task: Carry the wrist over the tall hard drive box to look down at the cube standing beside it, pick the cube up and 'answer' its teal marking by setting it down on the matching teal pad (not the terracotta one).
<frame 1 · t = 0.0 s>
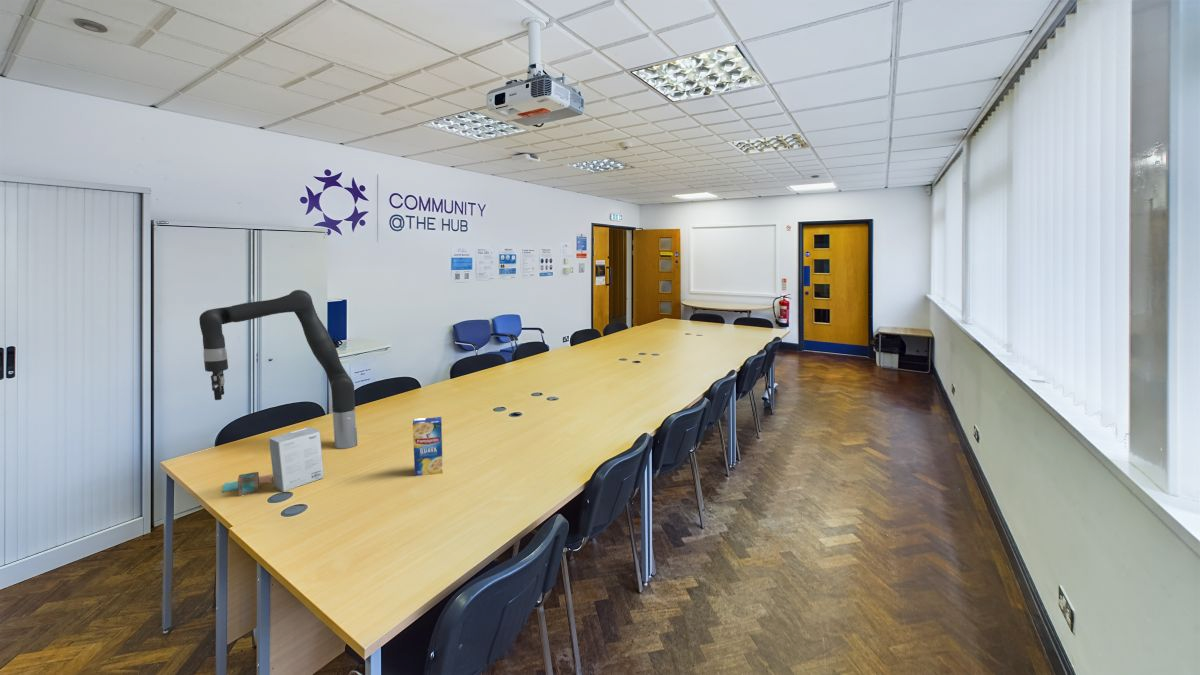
hand: (219, 397, 203), 29 cm above the table, fingers open, 8 cm apart
hard drive box: (299, 482, 193), on the table
cube: (249, 491, 185), on the table
blue food box: (429, 471, 205), on the table
pad teal: (234, 486, 188), on the table
pad terracotta: (260, 481, 193), on the table
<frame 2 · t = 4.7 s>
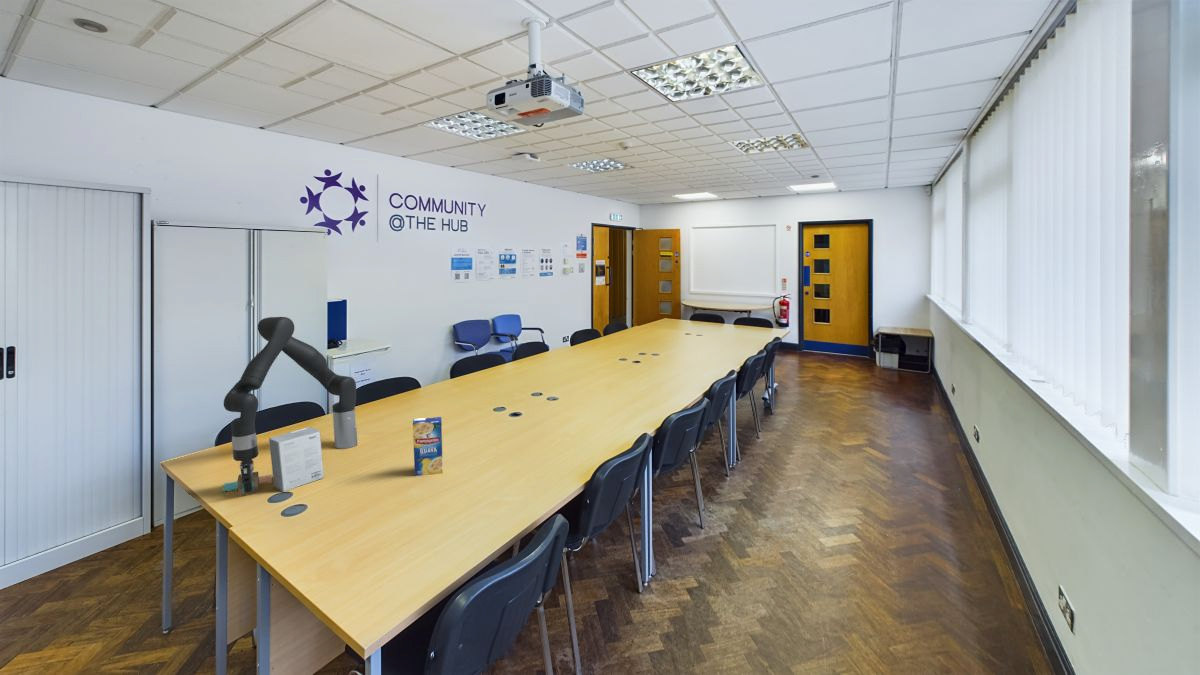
hand: (249, 488, 184), 1 cm above the table, fingers closed on cube, 6 cm apart
cube: (249, 491, 185), on the table, touching gripper
everything else where it was.
when the fingers open (3 cm above the table, at t = 10.1 s): cube stays where it is, resting on pad teal.
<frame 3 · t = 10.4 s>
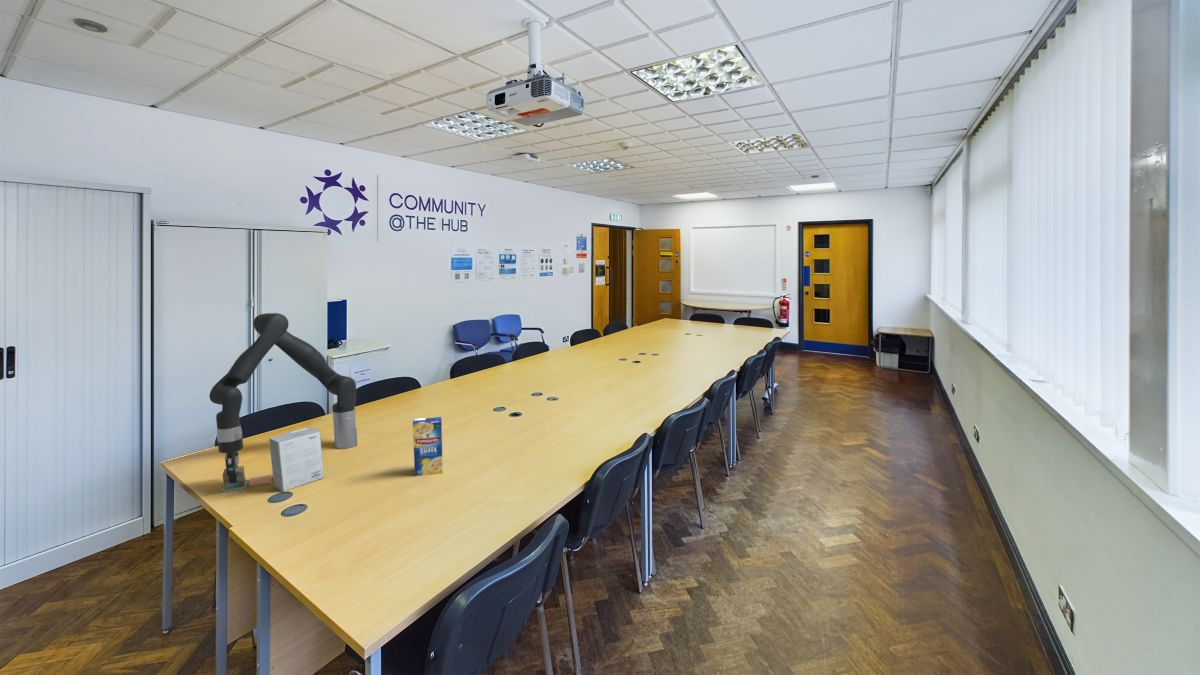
hand: (234, 478, 187), 3 cm above the table, fingers open, 8 cm apart
cube: (234, 485, 188), point 1 cm above the table, touching pad teal
everything else where it was.
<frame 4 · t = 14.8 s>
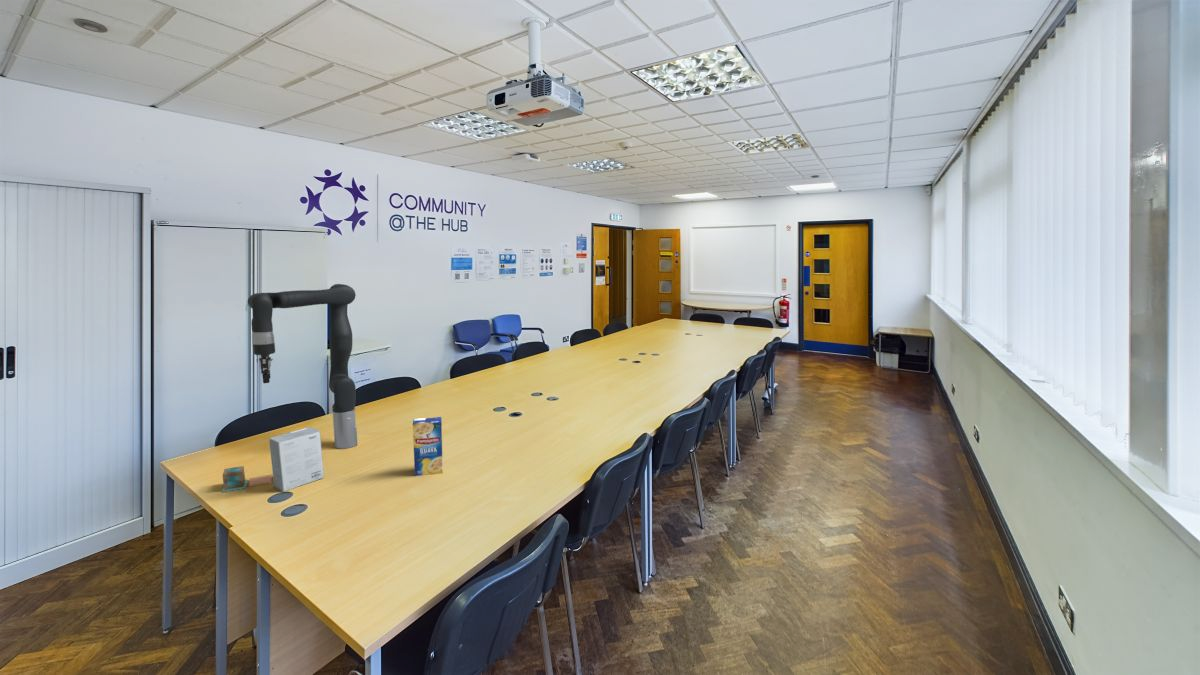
hand: (266, 380, 204), 36 cm above the table, fingers open, 8 cm apart
nothing on the table moved.
at the end: cube 0.0 cm off-centre on the pad teal, point 0.6 cm above the pad teal's base; cube tilted 0°; the gripper is holding nothing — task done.
